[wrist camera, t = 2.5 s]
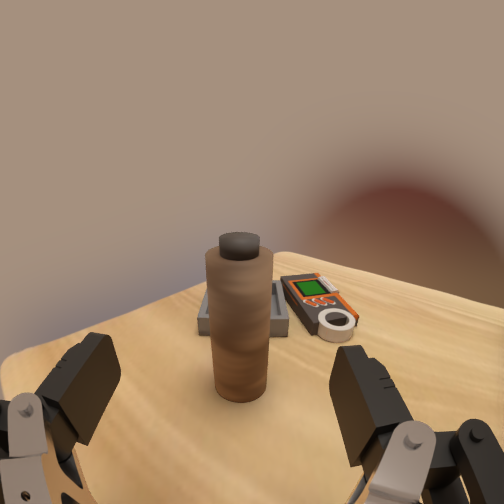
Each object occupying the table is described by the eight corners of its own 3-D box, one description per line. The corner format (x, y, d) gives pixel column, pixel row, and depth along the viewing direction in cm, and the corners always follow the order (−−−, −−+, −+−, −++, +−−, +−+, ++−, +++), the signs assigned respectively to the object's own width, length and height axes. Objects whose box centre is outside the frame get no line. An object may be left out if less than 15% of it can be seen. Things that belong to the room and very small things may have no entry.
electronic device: (322, 332, 28) (280, 273, 42) (318, 352, 29) (278, 290, 43) (371, 322, 30) (319, 269, 43) (365, 340, 31) (317, 285, 44)
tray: (279, 295, 41) (280, 280, 40) (287, 336, 31) (289, 319, 30) (210, 294, 41) (209, 279, 40) (199, 334, 31) (197, 317, 30)
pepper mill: (265, 367, 26) (271, 229, 21) (267, 402, 21) (276, 248, 17) (217, 366, 26) (210, 228, 21) (212, 401, 21) (198, 247, 17)
